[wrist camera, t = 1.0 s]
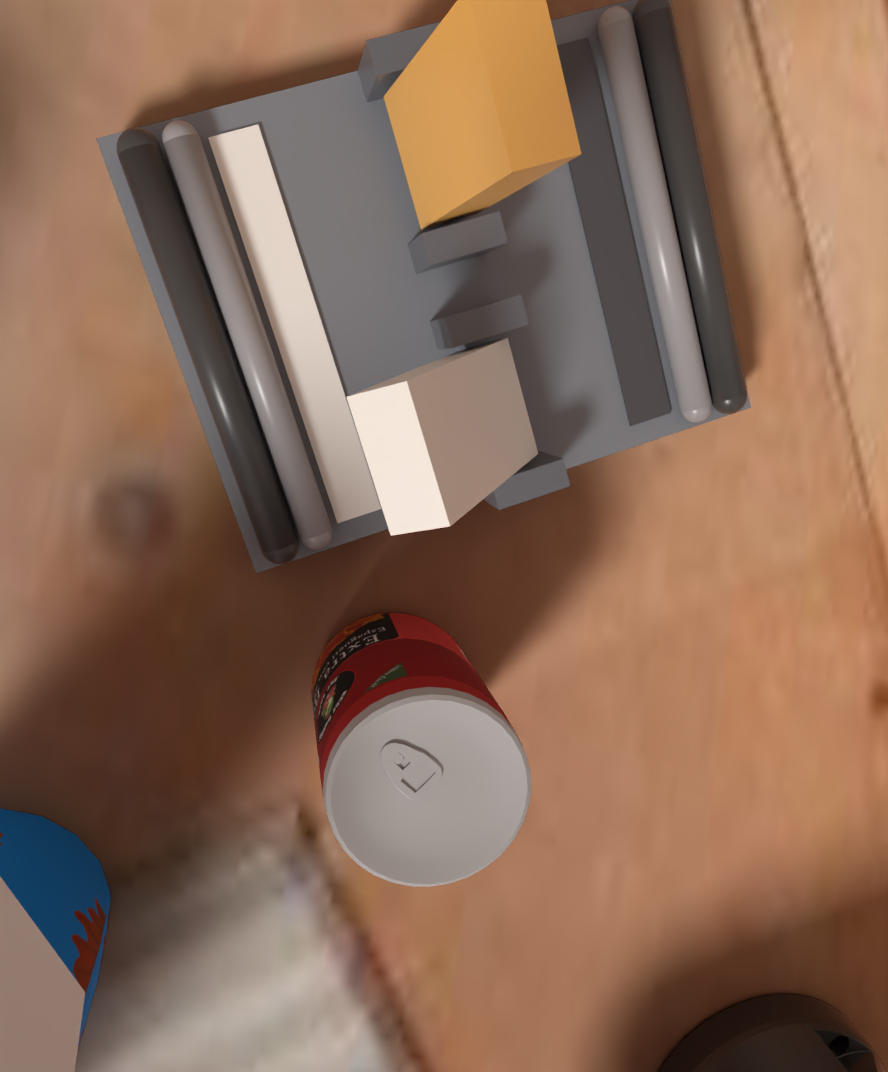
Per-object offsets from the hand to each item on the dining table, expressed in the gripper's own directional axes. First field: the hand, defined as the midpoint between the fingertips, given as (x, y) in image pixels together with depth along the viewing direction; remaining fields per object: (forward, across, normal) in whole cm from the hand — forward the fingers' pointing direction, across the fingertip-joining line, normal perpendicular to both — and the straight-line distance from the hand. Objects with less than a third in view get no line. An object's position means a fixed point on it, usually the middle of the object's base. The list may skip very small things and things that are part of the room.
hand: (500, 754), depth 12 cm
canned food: (+25, +1, +17) cm, 30 cm away
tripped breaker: (+26, -7, -6) cm, 28 cm away
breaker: (+24, -7, +4) cm, 25 cm away
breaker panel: (+29, -7, 0) cm, 30 cm away
